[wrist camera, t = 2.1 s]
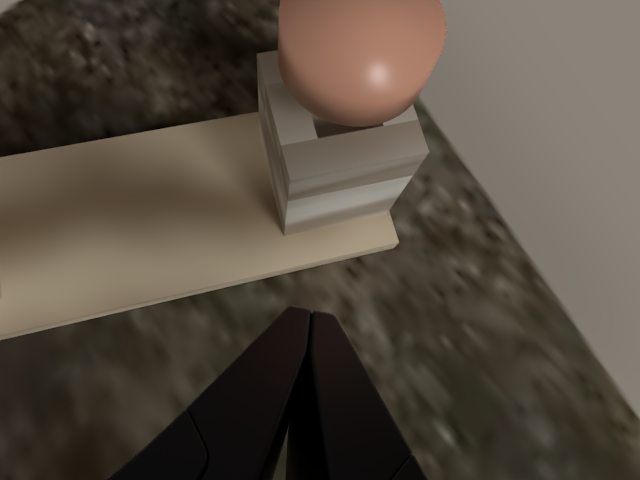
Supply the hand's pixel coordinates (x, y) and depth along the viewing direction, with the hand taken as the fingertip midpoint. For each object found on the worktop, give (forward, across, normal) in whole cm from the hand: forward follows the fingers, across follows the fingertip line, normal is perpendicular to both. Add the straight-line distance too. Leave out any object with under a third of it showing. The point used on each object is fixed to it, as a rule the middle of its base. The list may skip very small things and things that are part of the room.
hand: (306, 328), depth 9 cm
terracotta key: (+10, 0, -2) cm, 11 cm away
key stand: (+13, +8, +6) cm, 16 cm away
